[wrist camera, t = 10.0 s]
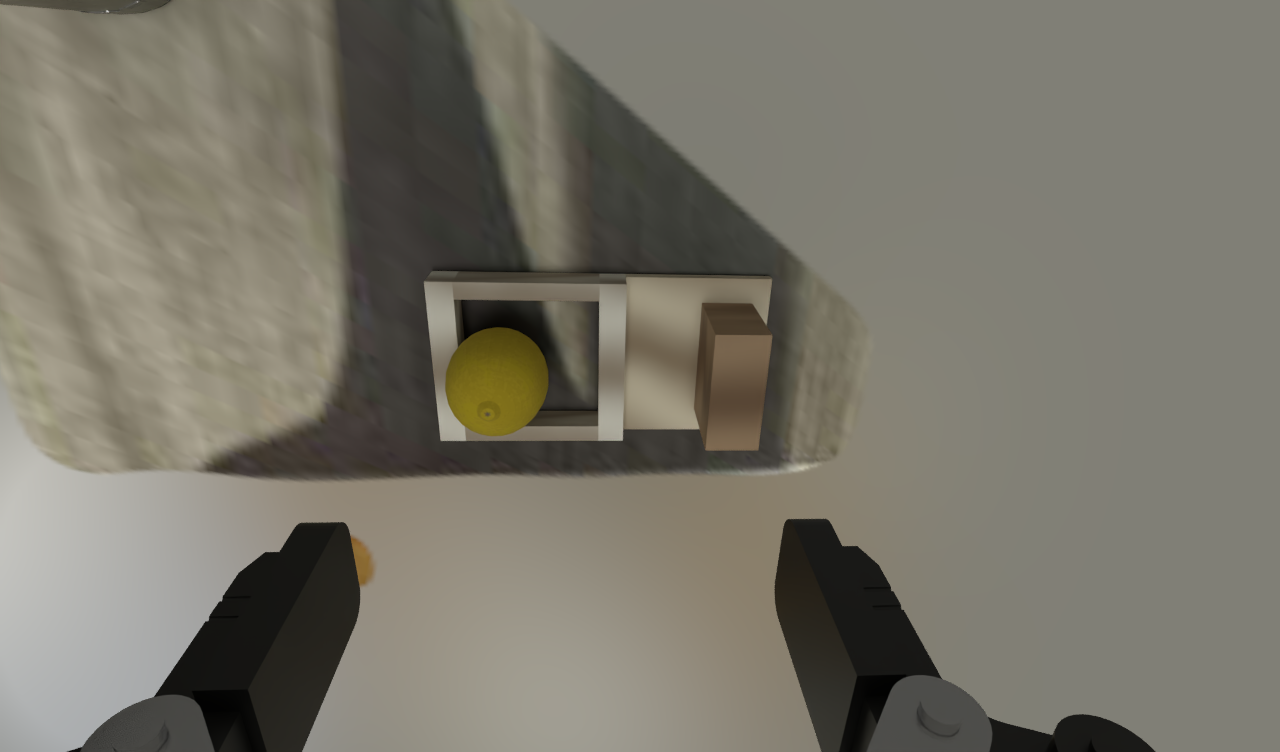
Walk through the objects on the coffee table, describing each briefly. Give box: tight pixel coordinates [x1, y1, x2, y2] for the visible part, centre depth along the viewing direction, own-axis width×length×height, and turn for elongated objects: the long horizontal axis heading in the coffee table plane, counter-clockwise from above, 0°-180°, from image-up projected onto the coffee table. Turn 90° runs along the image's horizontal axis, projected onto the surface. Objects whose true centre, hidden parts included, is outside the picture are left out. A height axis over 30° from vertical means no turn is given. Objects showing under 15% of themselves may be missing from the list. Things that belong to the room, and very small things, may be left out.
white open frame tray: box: [424, 271, 773, 450], centre depth 39 cm, size 10×20×6 cm, turn 88°
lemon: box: [445, 327, 548, 436], centre depth 37 cm, size 6×6×8 cm
